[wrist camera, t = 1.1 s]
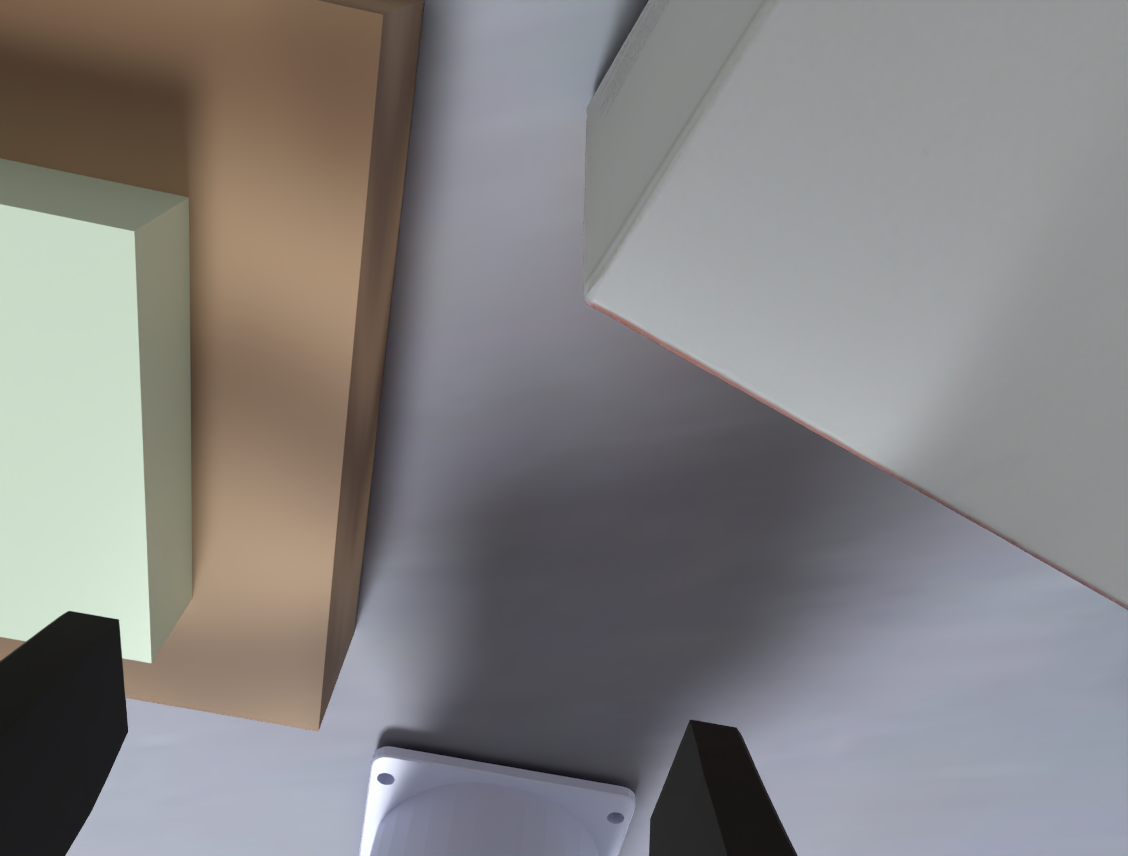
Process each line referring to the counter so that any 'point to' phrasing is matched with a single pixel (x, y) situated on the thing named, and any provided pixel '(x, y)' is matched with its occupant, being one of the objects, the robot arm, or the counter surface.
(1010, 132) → the small box
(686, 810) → the robot arm
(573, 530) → the counter surface
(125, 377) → the sage green block
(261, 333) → the brown flat block
